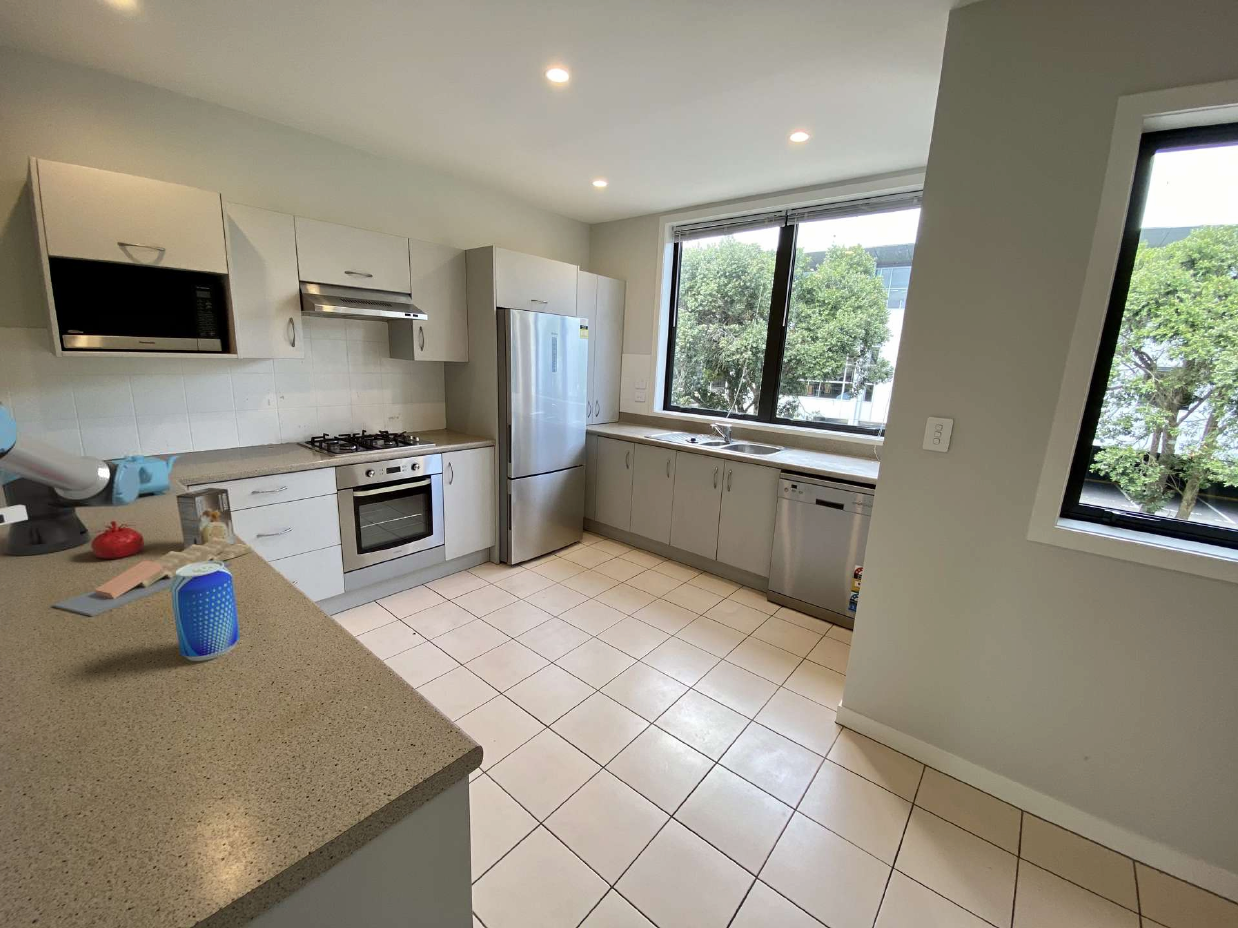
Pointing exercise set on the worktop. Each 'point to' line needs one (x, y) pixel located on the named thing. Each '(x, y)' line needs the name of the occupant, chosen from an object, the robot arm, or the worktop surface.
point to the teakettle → (150, 472)
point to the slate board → (98, 604)
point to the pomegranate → (117, 542)
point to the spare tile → (128, 579)
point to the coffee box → (205, 516)
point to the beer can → (204, 610)
